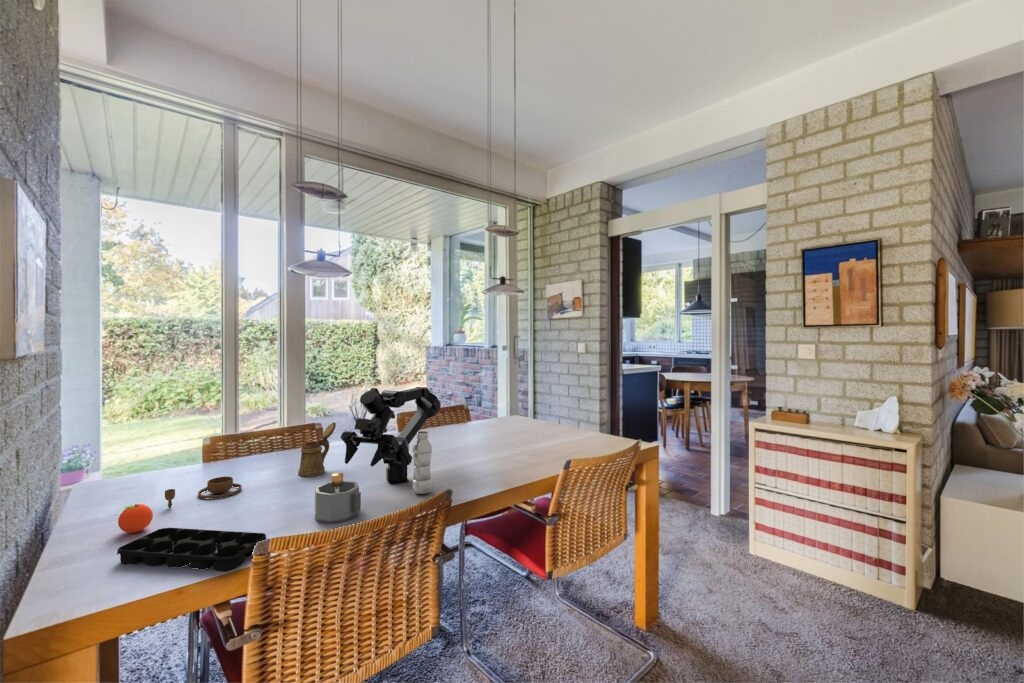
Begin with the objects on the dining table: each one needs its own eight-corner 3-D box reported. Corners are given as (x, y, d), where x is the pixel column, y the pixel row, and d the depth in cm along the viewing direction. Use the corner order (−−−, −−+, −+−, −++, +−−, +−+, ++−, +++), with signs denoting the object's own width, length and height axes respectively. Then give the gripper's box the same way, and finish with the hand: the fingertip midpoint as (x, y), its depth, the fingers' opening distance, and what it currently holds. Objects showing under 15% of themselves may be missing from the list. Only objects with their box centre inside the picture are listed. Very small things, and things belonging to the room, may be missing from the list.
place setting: (243, 499, 139) (243, 480, 139) (163, 513, 128) (163, 493, 127) (239, 483, 153) (239, 467, 153) (167, 495, 142) (167, 477, 142)
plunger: (334, 503, 131) (334, 468, 131) (358, 506, 129) (358, 471, 129) (314, 514, 123) (314, 477, 123) (339, 518, 121) (339, 480, 121)
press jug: (333, 505, 133) (333, 478, 133) (370, 510, 130) (370, 483, 130) (305, 520, 122) (305, 491, 122) (344, 526, 119) (345, 497, 118)
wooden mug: (340, 470, 167) (340, 423, 167) (302, 478, 158) (303, 428, 158) (331, 465, 174) (331, 420, 174) (294, 472, 164) (294, 424, 164)
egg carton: (151, 541, 110) (151, 526, 110) (277, 537, 113) (277, 522, 113) (92, 580, 92) (92, 563, 92) (243, 573, 96) (243, 556, 96)
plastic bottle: (415, 498, 140) (415, 435, 140) (409, 491, 146) (410, 431, 146) (434, 494, 143) (435, 433, 143) (428, 488, 149) (429, 429, 149)
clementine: (107, 540, 109) (107, 511, 109) (119, 529, 116) (119, 502, 116) (147, 534, 113) (147, 507, 113) (156, 524, 119) (156, 498, 119)
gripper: (344, 406, 143) (320, 448, 133) (394, 409, 138) (373, 453, 128) (358, 425, 151) (337, 466, 141) (407, 429, 146) (388, 472, 135)
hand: (358, 464), depth 136 cm, fingers open, 9 cm apart
